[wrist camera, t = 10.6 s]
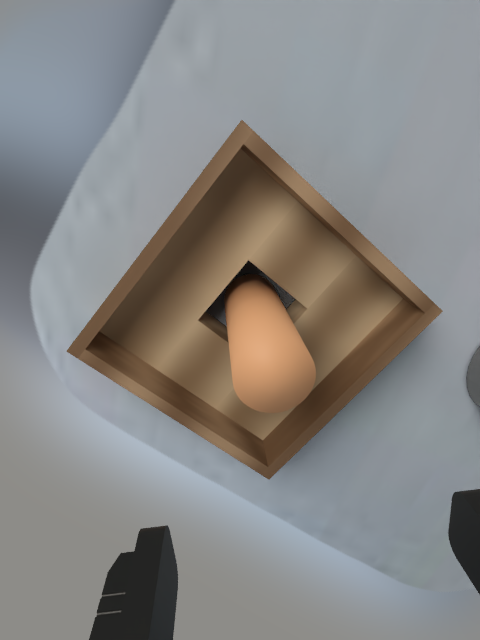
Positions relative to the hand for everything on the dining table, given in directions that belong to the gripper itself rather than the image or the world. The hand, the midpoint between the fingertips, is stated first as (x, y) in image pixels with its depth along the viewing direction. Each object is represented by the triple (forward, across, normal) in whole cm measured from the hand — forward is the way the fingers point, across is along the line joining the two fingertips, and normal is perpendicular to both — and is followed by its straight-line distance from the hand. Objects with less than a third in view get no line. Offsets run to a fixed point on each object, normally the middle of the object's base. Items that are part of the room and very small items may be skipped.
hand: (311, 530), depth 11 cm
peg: (+20, 0, -1) cm, 20 cm away
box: (+20, 0, -1) cm, 20 cm away
